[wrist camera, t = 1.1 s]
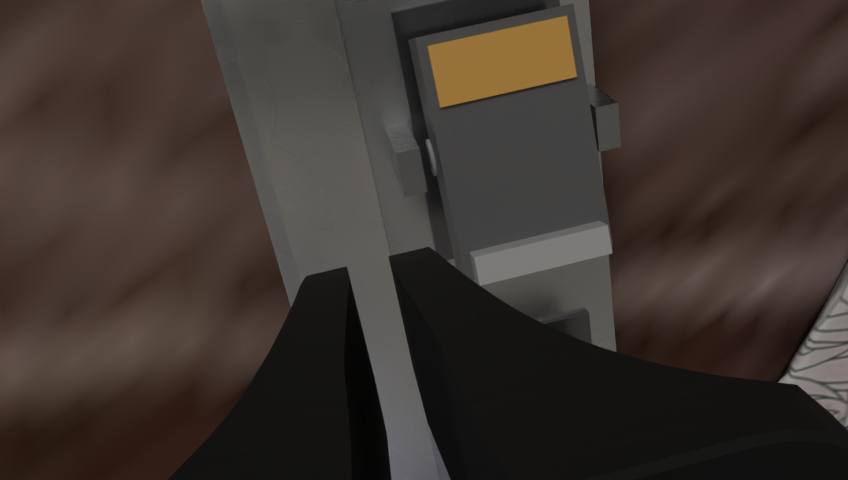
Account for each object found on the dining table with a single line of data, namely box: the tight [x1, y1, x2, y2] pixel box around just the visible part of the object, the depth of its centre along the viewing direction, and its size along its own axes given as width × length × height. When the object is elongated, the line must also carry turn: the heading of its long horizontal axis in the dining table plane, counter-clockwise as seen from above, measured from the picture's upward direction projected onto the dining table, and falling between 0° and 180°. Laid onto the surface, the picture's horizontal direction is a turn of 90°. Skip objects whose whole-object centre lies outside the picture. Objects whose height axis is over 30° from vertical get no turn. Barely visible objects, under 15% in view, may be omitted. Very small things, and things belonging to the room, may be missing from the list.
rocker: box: [408, 4, 613, 286], centre depth 17 cm, size 5×3×2 cm, turn 10°
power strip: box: [201, 0, 621, 480], centre depth 19 cm, size 26×8×5 cm, turn 10°
